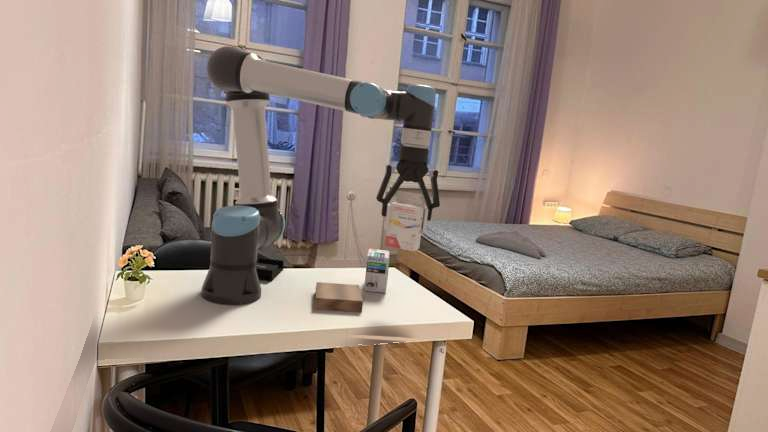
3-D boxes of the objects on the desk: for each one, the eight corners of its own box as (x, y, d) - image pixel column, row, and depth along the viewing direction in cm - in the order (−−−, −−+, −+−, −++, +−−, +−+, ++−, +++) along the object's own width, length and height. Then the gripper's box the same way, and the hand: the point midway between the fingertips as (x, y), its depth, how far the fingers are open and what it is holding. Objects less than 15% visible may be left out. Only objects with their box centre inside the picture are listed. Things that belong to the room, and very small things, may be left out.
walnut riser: (315, 309, 134) (316, 298, 134) (315, 292, 148) (316, 282, 147) (361, 312, 136) (363, 301, 135) (357, 295, 149) (358, 285, 149)
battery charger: (271, 283, 152) (272, 270, 152) (239, 279, 153) (240, 266, 152) (283, 272, 165) (284, 260, 165) (253, 269, 166) (254, 256, 165)
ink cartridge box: (384, 246, 139) (390, 191, 137) (390, 243, 144) (396, 190, 142) (415, 251, 137) (422, 196, 135) (420, 248, 141) (426, 194, 139)
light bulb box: (386, 293, 154) (390, 258, 152) (363, 291, 154) (366, 255, 152) (386, 283, 164) (390, 250, 163) (365, 281, 164) (368, 247, 163)
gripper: (374, 141, 131) (364, 229, 135) (459, 151, 134) (447, 237, 138) (371, 141, 138) (362, 224, 142) (452, 150, 141) (441, 231, 145)
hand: (404, 230), depth 140 cm, fingers closed on ink cartridge box, 9 cm apart
